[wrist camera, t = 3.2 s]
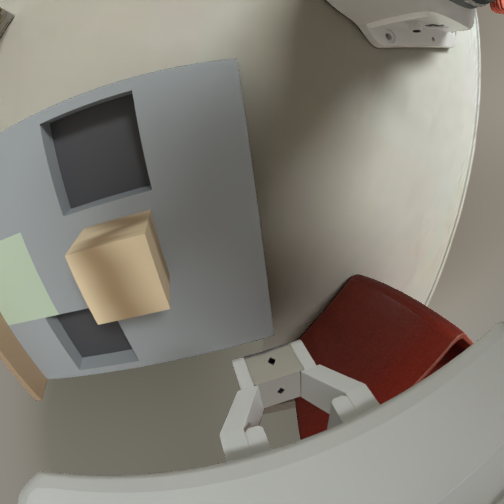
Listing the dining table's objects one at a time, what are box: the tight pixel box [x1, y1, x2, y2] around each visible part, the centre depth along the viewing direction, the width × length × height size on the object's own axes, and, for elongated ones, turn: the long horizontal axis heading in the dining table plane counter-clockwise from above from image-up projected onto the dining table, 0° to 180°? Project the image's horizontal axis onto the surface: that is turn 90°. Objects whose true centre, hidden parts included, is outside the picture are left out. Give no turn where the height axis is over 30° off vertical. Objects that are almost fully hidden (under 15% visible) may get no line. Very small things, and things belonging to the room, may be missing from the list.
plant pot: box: [295, 275, 474, 440], centre depth 30 cm, size 19×19×17 cm
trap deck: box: [0, 58, 274, 401], centre depth 21 cm, size 30×27×6 cm
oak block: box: [65, 210, 170, 325], centre depth 20 cm, size 6×6×5 cm
